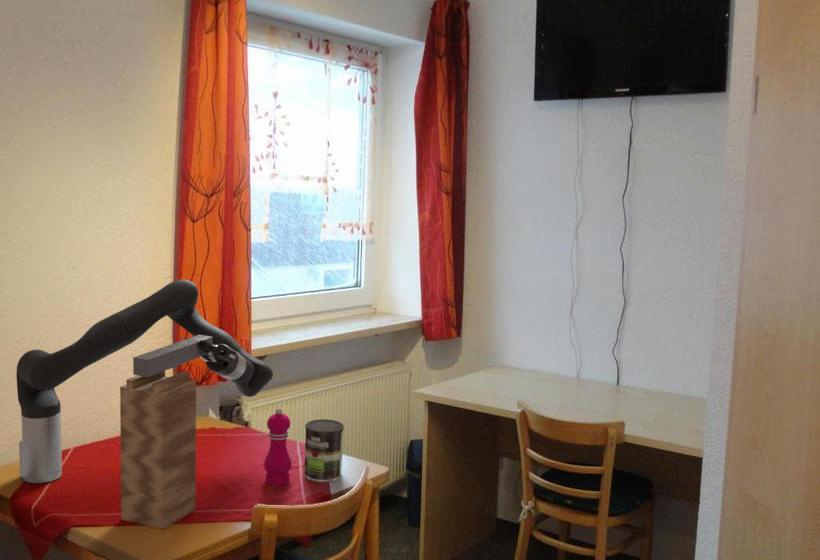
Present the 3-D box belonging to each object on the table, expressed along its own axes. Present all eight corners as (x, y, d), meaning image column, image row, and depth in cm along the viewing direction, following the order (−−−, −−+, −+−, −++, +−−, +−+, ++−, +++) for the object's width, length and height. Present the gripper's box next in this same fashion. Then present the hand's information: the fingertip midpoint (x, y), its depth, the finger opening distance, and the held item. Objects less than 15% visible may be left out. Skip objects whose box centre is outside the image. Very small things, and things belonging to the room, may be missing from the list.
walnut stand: (121, 519, 192) (120, 378, 187) (153, 499, 203) (153, 366, 198) (164, 529, 188) (164, 385, 183) (195, 509, 199) (196, 373, 194)
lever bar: (133, 374, 185) (133, 357, 184) (198, 350, 208) (198, 334, 207) (148, 377, 183) (148, 359, 183) (212, 352, 207) (212, 336, 206)
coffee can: (331, 485, 217) (332, 434, 215) (296, 477, 221) (298, 427, 219) (348, 472, 227) (350, 422, 224) (315, 465, 230) (316, 416, 228)
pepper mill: (285, 487, 214) (287, 413, 211) (259, 484, 216) (260, 410, 212) (294, 477, 221) (296, 405, 218) (269, 473, 223) (271, 402, 219)
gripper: (207, 345, 220) (173, 324, 205) (253, 352, 216) (222, 331, 200) (199, 372, 218) (163, 353, 203) (245, 379, 213) (213, 361, 198)
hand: (193, 342), depth 202 cm, fingers closed on lever bar, 4 cm apart
